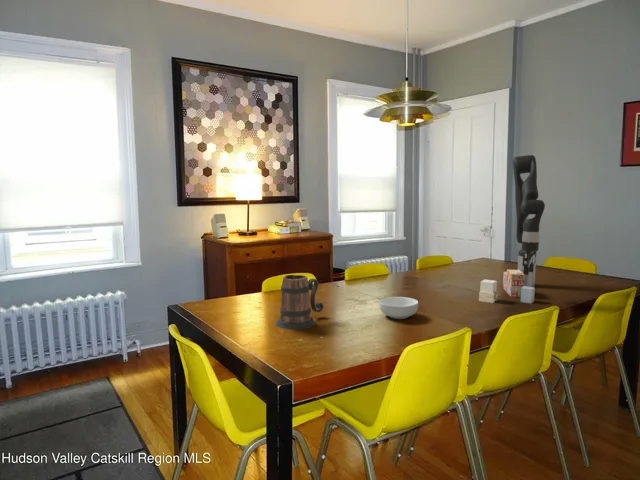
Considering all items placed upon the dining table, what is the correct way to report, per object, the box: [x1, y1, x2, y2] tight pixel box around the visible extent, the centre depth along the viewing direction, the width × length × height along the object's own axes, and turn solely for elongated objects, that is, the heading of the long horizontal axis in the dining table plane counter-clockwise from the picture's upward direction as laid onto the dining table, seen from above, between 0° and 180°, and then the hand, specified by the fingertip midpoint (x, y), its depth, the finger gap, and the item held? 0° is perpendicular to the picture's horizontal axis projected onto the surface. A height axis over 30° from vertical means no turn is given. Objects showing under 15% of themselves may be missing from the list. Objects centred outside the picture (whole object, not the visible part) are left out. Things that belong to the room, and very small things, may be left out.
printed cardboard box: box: [502, 269, 525, 298], centre depth 243 cm, size 21×6×12 cm, turn 169°
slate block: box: [520, 286, 536, 304], centre depth 225 cm, size 5×5×7 cm
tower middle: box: [479, 279, 498, 293], centre depth 226 cm, size 6×6×5 cm
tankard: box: [275, 274, 324, 331], centre depth 192 cm, size 24×17×20 cm
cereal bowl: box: [379, 296, 419, 320], centre depth 200 cm, size 17×17×7 cm
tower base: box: [478, 290, 499, 304], centre depth 227 cm, size 7×7×5 cm
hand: (528, 273), depth 223 cm, fingers open, 8 cm apart
